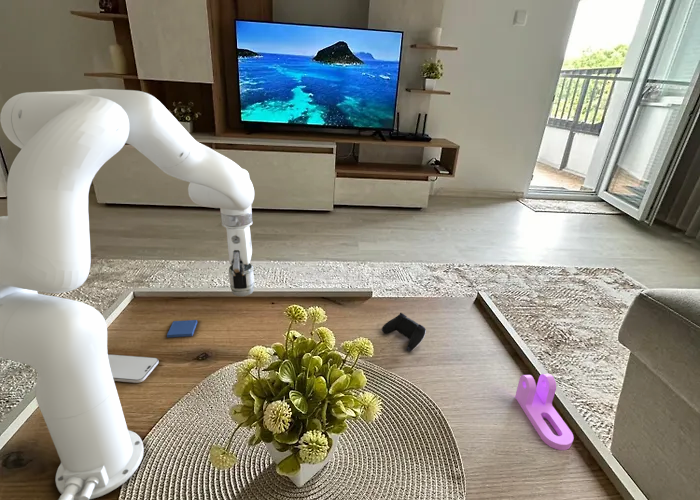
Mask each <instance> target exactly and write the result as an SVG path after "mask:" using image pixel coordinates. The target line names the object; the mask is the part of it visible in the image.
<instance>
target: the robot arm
mask: <svg viewBox="0 0 700 500" xmlns="http://www.w3.org/2000/svg"><path fill="white" fill-rule="evenodd" d="M0 126H1V129H2V131H3V133H4V135H5V136H6V137H7V139H8V140H9V141H10V142H11V143H12V144H13V145H15V146H17V147H18V148H19V149H20V151H19V152H18V153H17V155H16V156H15V158H14V160H13V161H12V164H11V166H10V169H9V171H8V175H7V180H6V181H7V183H6V199H7V200H6V202H7V204H6V205H7V207H6V208H7V209H6V210H7V215H2V216H0V358H2V359H5V360H10V361H14V362H16V363H20V364H24V365H27V366H30V367H32V369H34V370H35V371H36V373H37V382H36V385H35V389H34V394H35V395H34V396H35V399H36V402H37V406H38V408H39V411H40V412H41V415H42V417H43V420H44V422H45V425H46V428H47V431H48V432H49V435H50V438H51V440H52V443H53V445H54V447H55V450H56V453H57V455H58V457H59V460H60V464H59V466H58V468H57V470H56V473H55V478H54V479H55V485H56V488H57V491H58V492H59V494H61V495H60V496H59V498H58V500H94V499H96V498H97V499H98V498H99V497H103V496H104V495H107V494H109V493H111V492H112V491H114V490H116V489H117V488H119V487H121V486H122V485H123V484H125V483H126V482H127V481H128V480H129V479H130V478H131V477H132V476H133V474H134V473H136V471H137V470H138V468H139V466H140V465H141V463H142V460H143V457H144V452H145V449H144V443H143V440H142V438H141V437H140V435H139V434H137V433H136V432H134V431H133V430H129V428H128V426H127V423H126V419H125V415H124V411H123V408H122V404H121V401H120V397H119V393H118V390H117V386H116V383H115V381H114V380H113V376H112V372H111V368H110V364H109V359H108V354H109V353H108V352H109V351H108V325H107V322H106V319H105V317H104V316H103V314H102V313H101V312H100V311H99V310H97V309H96V308H95V307H94V306H91V305H89V304H87V303H84V302H82V301H78V300H75V299H70V298H65V297H60V296H54V295H46V294H42V293H50V294H62V293H63V294H64V293H69V292H72V291H74V290H76V289H79V288H80V287H81V286H82V285H83V284H84V283H85V282H86V281H87V279H88V277H89V275H90V270H91V260H92V255H91V254H92V253H91V234H90V216H89V215H90V214H89V193H90V188H91V185H92V183H93V180H94V178H95V176H96V175H97V173H98V172H99V170H100V169H101V168H102V167H103V166H104V164H106V163H107V162H108V161H109V160H110V159H111V158H112V157H114V156H115V155H117V153H119V152H120V151H121V150H122V149H123V147H124V146H125V144H127V145H130V146H132V147H133V148H134V149H135V150H137V151H138V152H139V153H141V154H142V155H143V156H144V157H146V159H148V160H149V161H150V162H151V163H153V164H154V165H155V166H156V167H158V169H160V171H162V172H163V173H164V174H166V175H167V176H170V177H172V178H175V179H177V180H181V181H184V182H187V183H188V187H187V192H188V197H189V199H190V200H191V201H192V202H193V203H194V204H196V205H197V206H200V207H204V208H214V209H220V221H221V226H222V227H223V228H225V229H226V240H227V241H226V243H227V252H228V253H227V254H228V261H229V264H230V266H231V265H233V282H234V288H235V289H245V288H247V281H246V274H245V264H247V265H248V264H249V263H250V264H251V260H252V256H253V255H252V254H253V246H252V245H253V244H252V235H251V227H250V226H252V225H253V210H252V209H253V208H252V205H253V202H254V200H255V189H254V185H253V182H252V180H251V178H250V173H249V172H248V170H246V169H245V168H242V167H241V166H240V165H239V164H238V163H236V162H235V161H233V160H232V159H231V158H229V157H227V156H226V155H224V154H222V153H219V152H218V151H215V150H214V149H213V148H211V147H209V146H207V145H205V144H203V143H200V142H199V141H197V140H196V139H195V137H193V135H191V134H190V133H189V131H187V129H186V128H185V127H184V126H183V125H182V124H181V123H180V121H178V119H177V118H176V117H175V116H174V115H173V113H171V112H170V111H169V110H168V109H167V108H166V106H165V105H164V104H163V103H162V102H161V101H160V100H159V99H157V98H156V97H155V96H154V95H152V94H150V93H148V92H144V91H142V90H141V91H140V90H134V89H113V88H112V89H111V88H90V89H76V90H52V91H30V92H29V91H27V92H21V93H18V94H15V95H13V96H12V97H10V98H9V99H7V101H5V103H4V104H3V106H2V107H1V111H0ZM240 262H242V263H240ZM240 266H242V269H241V268H240ZM39 292H40V293H39Z"/></svg>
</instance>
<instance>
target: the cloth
mask: <svg viewBox="0 0 700 500" xmlns="http://www.w3.org/2000/svg"><path fill="white" fill-rule="evenodd" d="M197 324H198V320H197V319H189V320H188V319H187V320H174V321H172V323H171V325H170V327H169V330H168V332H167V334H166V337H167V338H183V337H193V335H194V334H195V331H196V328H197Z"/></svg>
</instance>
